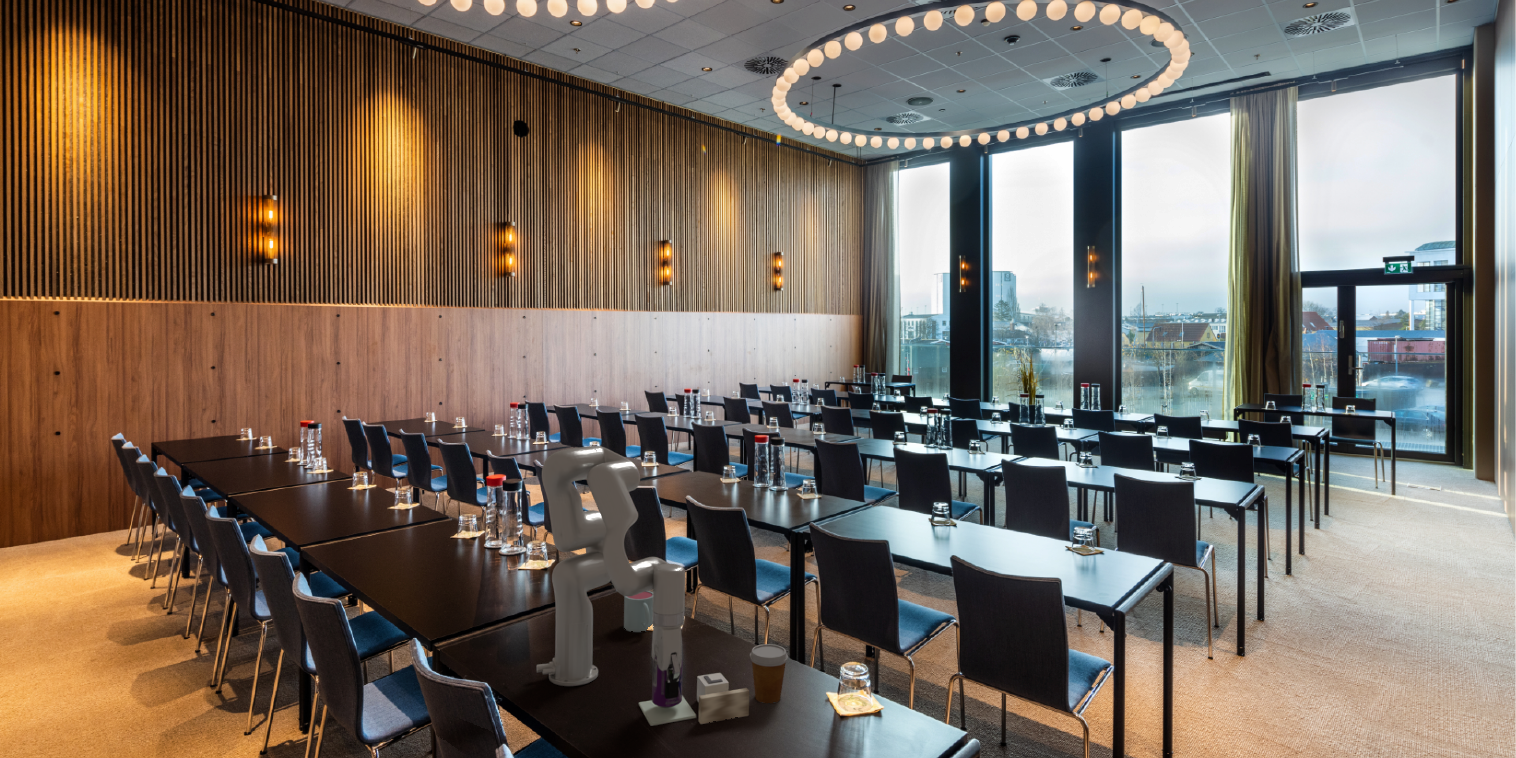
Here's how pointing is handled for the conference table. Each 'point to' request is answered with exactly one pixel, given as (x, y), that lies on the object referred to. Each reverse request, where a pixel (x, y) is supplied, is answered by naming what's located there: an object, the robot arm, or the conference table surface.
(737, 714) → the birch screen
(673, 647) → the robot arm
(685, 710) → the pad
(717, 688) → the letter block
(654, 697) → the beverage can
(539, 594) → the conference table surface
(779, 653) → the disposable coffee cup
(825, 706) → the conference table surface
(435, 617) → the conference table surface
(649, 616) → the mug
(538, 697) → the conference table surface
